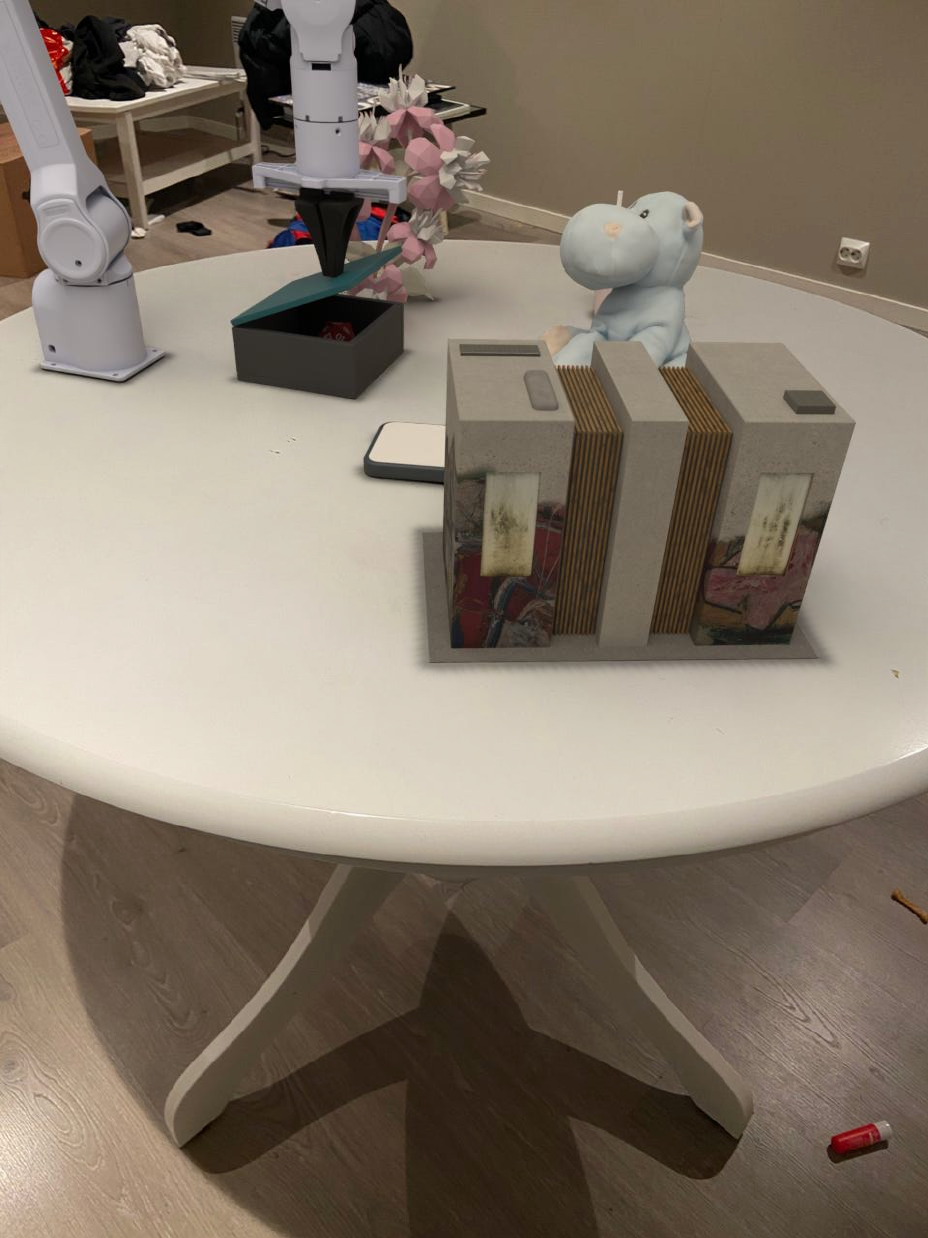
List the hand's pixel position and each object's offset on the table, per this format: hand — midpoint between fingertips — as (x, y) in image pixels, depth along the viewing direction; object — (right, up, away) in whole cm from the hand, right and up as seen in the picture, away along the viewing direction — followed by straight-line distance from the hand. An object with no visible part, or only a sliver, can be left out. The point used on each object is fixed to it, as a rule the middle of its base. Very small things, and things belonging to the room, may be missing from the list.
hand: (333, 273), depth 93 cm
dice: (0, -7, +5) cm, 9 cm away
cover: (-1, -1, +1) cm, 2 cm away
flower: (+4, +3, +20) cm, 21 cm away
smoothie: (+30, +2, +22) cm, 37 cm away
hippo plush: (+30, -10, +4) cm, 32 cm away
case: (-2, -7, +6) cm, 10 cm away
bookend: (+22, -32, -26) cm, 47 cm away
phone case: (+13, -20, -11) cm, 26 cm away
